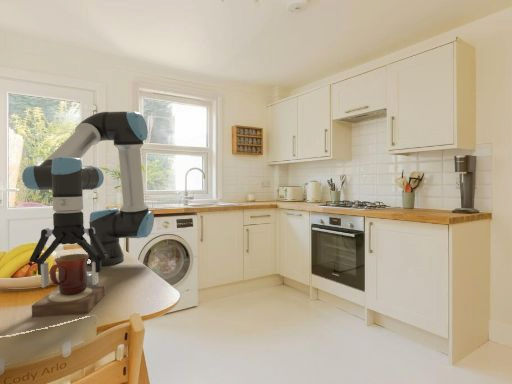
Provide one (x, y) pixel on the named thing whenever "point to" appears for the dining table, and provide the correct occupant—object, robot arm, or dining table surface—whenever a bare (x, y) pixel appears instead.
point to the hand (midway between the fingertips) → (70, 284)
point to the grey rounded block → (90, 279)
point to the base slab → (68, 302)
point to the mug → (70, 273)
